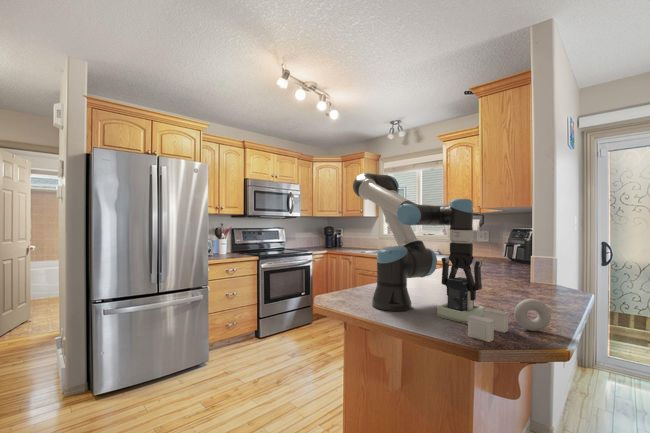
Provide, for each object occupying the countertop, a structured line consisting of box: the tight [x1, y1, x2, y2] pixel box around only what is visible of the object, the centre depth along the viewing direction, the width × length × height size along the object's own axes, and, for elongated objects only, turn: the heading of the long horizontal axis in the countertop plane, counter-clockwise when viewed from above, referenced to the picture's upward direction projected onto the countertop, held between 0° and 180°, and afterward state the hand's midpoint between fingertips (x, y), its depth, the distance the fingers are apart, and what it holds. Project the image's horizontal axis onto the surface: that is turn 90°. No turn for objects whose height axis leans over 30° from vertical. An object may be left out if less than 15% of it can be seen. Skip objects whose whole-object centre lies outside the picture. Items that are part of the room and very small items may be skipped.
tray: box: [436, 302, 486, 325], centre depth 109 cm, size 11×13×4 cm
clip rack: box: [467, 307, 510, 343], centre depth 93 cm, size 6×16×6 cm, turn 132°
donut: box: [513, 298, 552, 332], centre depth 96 cm, size 10×4×10 cm, turn 78°
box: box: [447, 276, 475, 311], centre depth 109 cm, size 8×6×11 cm
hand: (460, 307), depth 109 cm, fingers closed on box, 6 cm apart
